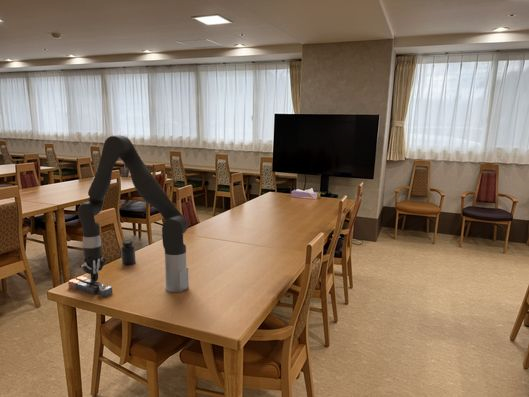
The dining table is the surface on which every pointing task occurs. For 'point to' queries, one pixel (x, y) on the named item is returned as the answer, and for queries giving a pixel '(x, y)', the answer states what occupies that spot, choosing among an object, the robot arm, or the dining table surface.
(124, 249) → the supplement bottle
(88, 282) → the tong arm
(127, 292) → the dining table surface
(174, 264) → the robot arm
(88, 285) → the tongs fixed
